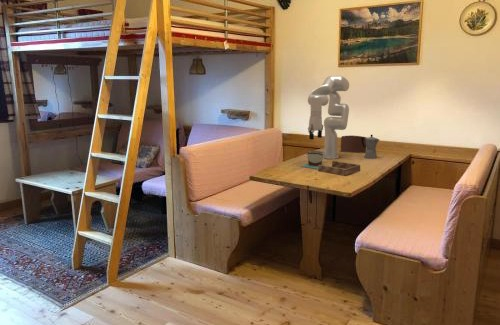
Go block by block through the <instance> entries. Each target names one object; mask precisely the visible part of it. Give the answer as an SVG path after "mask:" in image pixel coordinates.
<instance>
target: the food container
mask: <svg viewBox="0 0 500 325" xmlns="http://www.w3.org/2000/svg"><path fill="white" fill-rule="evenodd" d="M321 151H322V150H321ZM321 151H319V150H308V151H307V152H306V155H307V164H308V166H317V167H318V165H323V164H322V163H323V159H324V158H323V156H324V154H323V152H321Z"/></svg>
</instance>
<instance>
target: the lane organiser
mask: <svg viewBox="0 0 500 325" xmlns="http://www.w3.org/2000/svg"><path fill="white" fill-rule="evenodd" d="M323 165H324V164H322V165H318V169H317V171H318V172H320V173H321V172H323V173H328V174H332V175H333V174H334V175H339V176H343V177H344V176H349V175H351V174H354V173H357V172H361V164H356V163H350V162H343V161H338V160H332V161H331V166H330V165H326V166H323Z"/></svg>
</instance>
